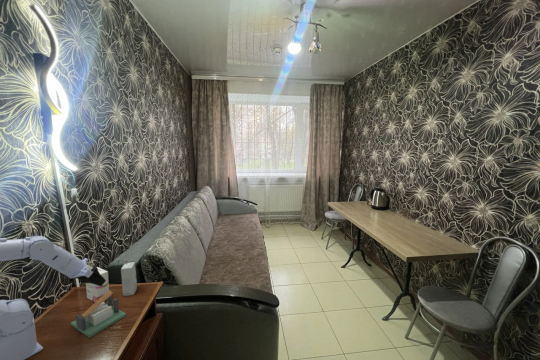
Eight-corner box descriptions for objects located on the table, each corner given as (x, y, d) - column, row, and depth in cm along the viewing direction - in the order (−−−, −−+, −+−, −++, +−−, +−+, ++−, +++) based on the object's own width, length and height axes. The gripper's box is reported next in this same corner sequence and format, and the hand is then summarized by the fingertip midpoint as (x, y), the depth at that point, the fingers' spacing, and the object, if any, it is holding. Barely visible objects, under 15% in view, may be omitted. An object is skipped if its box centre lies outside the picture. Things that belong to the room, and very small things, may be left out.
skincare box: (134, 294, 100) (132, 267, 99) (122, 296, 99) (120, 269, 98) (137, 286, 106) (135, 261, 105) (126, 288, 105) (124, 262, 103)
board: (89, 337, 77) (87, 321, 76) (71, 325, 82) (69, 309, 82) (126, 315, 87) (125, 300, 87) (108, 305, 93) (107, 291, 92)
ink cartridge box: (110, 297, 98) (108, 264, 96) (97, 304, 94) (94, 269, 92) (99, 291, 102) (97, 259, 100) (86, 298, 98) (83, 264, 96)
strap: (85, 318, 80) (84, 317, 79) (82, 316, 81) (81, 315, 80) (112, 293, 87) (111, 291, 87) (109, 291, 88) (108, 290, 88)
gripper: (85, 254, 76) (116, 274, 84) (66, 249, 83) (97, 267, 91) (65, 274, 72) (101, 293, 79) (47, 267, 79) (81, 285, 87)
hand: (97, 281), depth 85 cm, fingers open, 7 cm apart
